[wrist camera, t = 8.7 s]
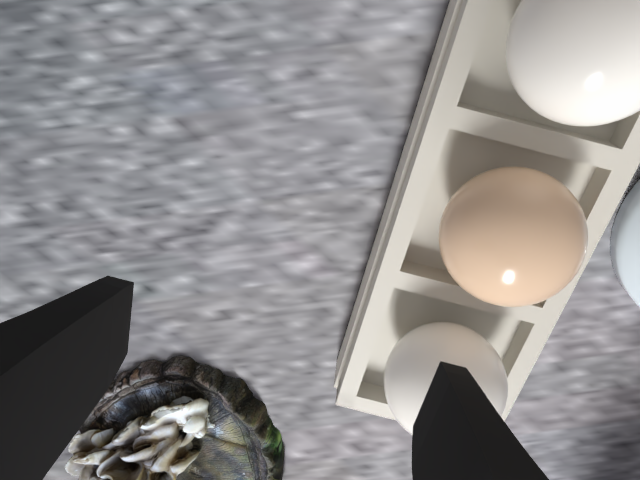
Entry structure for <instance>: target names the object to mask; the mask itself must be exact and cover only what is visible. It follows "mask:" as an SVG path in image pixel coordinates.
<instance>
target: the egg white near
mask: <svg viewBox="0 0 640 480" xmlns="http://www.w3.org/2000/svg"><path fill="white" fill-rule="evenodd" d="M506 65H507V69H508V74H509V77H510V79H511V82H512V84H513V86H514V88H515V90H516V92H517V93H518V94H519V96H520V97H521V98H522V100H523V101H524V102H525V103H526V104H527V105H528V106H529V107H530V108H531V109H532V110H534V111H535V112H537V113H538V114H540V115H541V116H543V117H545V118H547V119H549V120H552V121H555V122H558V123H561V124H565V125H570V126H598V125H603V124H608V123H612V122H615V121H618V120H621V119H624V118H626V117H628V116H631V115H633V114H635V113H636V112H638V111H640V0H522V1H521V2H520V4H519V6H518V7H517V9H516V11H515V13H514V16H513V18H512V20H511V23H510V26H509V30H508V34H507V40H506Z"/></svg>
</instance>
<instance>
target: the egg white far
mask: <svg viewBox="0 0 640 480" xmlns="http://www.w3.org/2000/svg"><path fill="white" fill-rule="evenodd" d="M440 361H442V362H446V363H450V364H454V365H458V366H462V367H466V368H467V369H468V371H469V372H470V373H471V375H472V376H473V377H474V379H475V380H476V382H477V383H478V385H479V386H480V388H481V389H482V390H483V392H484V393H485V395H486V396H487V398H488V399H489V401H490V402H491V403H492V405H493V406H494V408H495V409H496V411H497V412H498V414H499V415H500V416H502V414H503V411H504V409H505V406H506V402H507V397H508V380H507V375H506V371H505V367H504V365H503V362H502V360H501V358H500V356H499V354H498V353H497V351H496V350H495V349H494V347H493V346H492V345H491V344H490V343H489V342H488V341H487V340H486V339H485V338H484V337H483V336H482V335H480V334H479V333H477V332H476V331H474V330H472V329H470V328H468V327H466V326H464V325H460V324H457V323H452V322H433V323H428V324H424V325H421V326H418V327H416V328H414V329H412V330H411V331H409V332H408V333H406V334H405V335H404V336H403V337H402V338H401V339H400V340H399V341H398V342H397V343H396V344H395V346H394V347H393V349H392V351H391V352H390V354H389V356H388V359H387V362H386V365H385V369H384V379H383V382H384V392H385V397H386V400H387V403H388V406H389V408H390V410H391V412H392V414H393V415H394V417H395V419H396V420H397V421H398V422H399V424H400V425H401V426H402V427H403V428H404V429H405V430H406V431H407V432H409V433H410V434H411V435H413V425H414V422H415V420H416V418H417V415H418V413H419V410H420V408H421V406H422V403H423V401H424V399H425V396H426V394H427V392H428V389H429V387H430V384H431V382H432V380H433V377H434V375H435V373H436V370H437V368H438V366H439V363H440Z"/></svg>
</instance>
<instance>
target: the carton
mask: <svg viewBox="0 0 640 480" xmlns="http://www.w3.org/2000/svg"><path fill="white" fill-rule="evenodd" d="M521 1H522V0H450V2H449V5H448V8H447V11H446V15H445V18H444V21H443V24H442V27H441V31H440V34H439V37H438V40H437V43H436V46H435V50H434V53H433V56H432V59H431V62H430V66H429V69H428V72H427V75H426V78H425V82H424V85H423V88H422V91H421V94H420V97H419V101H418V104H417V107H416V110H415V113H414V117H413V120H412V123H411V126H410V129H409V133H408V136H407V139H406V142H405V145H404V148H403V152H402V155H401V158H400V161H399V164H398V168H397V171H396V174H395V177H394V180H393V184H392V187H391V190H390V193H389V196H388V199H387V203H386V206H385V209H384V212H383V215H382V219H381V222H380V225H379V228H378V231H377V235H376V238H375V241H374V244H373V247H372V251H371V254H370V257H369V260H368V263H367V266H366V270H365V273H364V276H363V279H362V282H361V286H360V289H359V292H358V295H357V298H356V302H355V305H354V308H353V311H352V314H351V317H350V321H349V324H348V327H347V330H346V333H345V337H344V340H343V343H342V346H341V349H340V353H339V356H338V359H337V363H336V372H335V381H334V388H337V395H336V404H335V405H338V406H342V407H346V408H350V409H354V410H358V411H362V412H366V413H370V414H374V415H378V416H381V417H385V418H389V419H393V420H396V419H395V417H394V415H393V414H392V412H391V410H390V408H389V406H388V403H387V400H386V397H385V392H384V382H383V379H384V369H385V365H386V362H387V359H388V356H389V354H390V352H391V351H392V349H393V347H394V346H395V344H396V343H397V342H398V341H399V340H400V339H401V338H402V337H403V336H404V335H405V334H406V333H408V332H409V331H411V330H412V329H414V328H416V327H418V326H421V325H424V324H428V323H433V322H452V323H457V324H460V325H464V326H466V327H468V328H470V329H472V330H474V331H476V332H477V333H479V334H480V335H482V336H483V337H484V338H485V339H486V340H487V341H488V342H489V343H490V344H491V345H492V346H493V347H494V349H495V350H496V351H497V353H498V354H499V356H500V358H501V360H502V362H503V365H504V367H505V371H506V375H507V380H508V397H507V402H506V406H505V409H504V411H503V414H502V416H501V418H502V419H503V421H505V420H506V418H507V416H508V414H509V412H510V410H511V408H512V406H513V404H514V402H515V400H516V399H517V397H518V395H519V393H520V391H521V389H522V387H523V385H524V383H525V381H526V379H527V378H528V376H529V374H530V372H531V370H532V368H533V366H534V364H535V362H536V360H537V358H538V357H539V355H540V353H541V351H542V349H543V347H544V345H545V343H546V341H547V339H548V337H549V336H550V334H551V332H552V330H553V328H554V326H555V324H556V322H557V320H558V318H559V316H560V315H561V313H562V311H563V309H564V307H565V305H566V303H567V301H568V299H569V297H570V295H571V294H572V292H573V290H574V288H575V286H576V284H577V282H578V280H579V278H580V276H581V274H582V273H583V271H584V269H585V267H586V265H587V263H588V261H589V259H590V257H591V255H592V253H593V252H594V250H595V248H596V246H597V244H598V242H599V240H600V238H601V236H602V234H603V232H604V231H605V229H606V227H607V225H608V223H609V221H610V219H611V217H612V215H613V213H614V212H615V210H616V208H617V206H618V204H619V202H620V200H621V198H622V196H623V194H624V192H625V191H626V189H627V187H628V185H629V183H630V181H631V179H632V177H633V175H634V173H635V171H636V170H637V168H638V166H639V164H640V111H638V112H636V113H635V114H633V115H631V116H628V117H626V118H624V119H621V120H618V121H615V122H612V123H608V124H603V125H598V126H570V125H565V124H561V123H558V122H555V121H552V120H549V119H547V118H545V117H543V116H541V115H540V114H538V113H537V112H535V111H534V110H532V109H531V108H530V107H529V106H528V105H527V104H526V103H525V102H524V101H523V100H522V98H521V97H520V96H519V94H518V93H517V92H516V90H515V88H514V86H513V84H512V82H511V79H510V77H509V74H508V69H507V65H506V40H507V34H508V30H509V26H510V23H511V20H512V18H513V16H514V13H515V11H516V9H517V7H518V6H519V4H520V2H521ZM511 166H517V167H526V168H532V169H535V170H538V171H541V172H544V173H546V174H548V175H550V176H552V177H554V178H555V179H557V180H558V181H560V182H561V183H562V184H564V185H565V186H566V187H567V188H568V189H569V190H570V191H571V193H572V194H573V195H574V196H575V198H576V199H577V200H578V202H579V204H580V206H581V207H582V210H583V212H584V215H585V218H586V222H587V227H588V246H587V251H586V255H585V258H584V261H583V263H582V266H581V268H580V269H579V271H578V273H577V274H576V276H575V277H574V278H573V280H572V281H571V282H570V283H569V284H568V285H567V286H566V287H565V288H564V289H563V290H561V291H560V292H559V293H557V294H556V295H554V296H553V297H551V298H549V299H547V300H545V301H542V302H539V303H537V304H533V305H528V306H522V307H503V306H498V305H494V304H490V303H487V302H484V301H482V300H480V299H477V298H476V297H474V296H472V295H471V294H469V293H468V292H466V291H465V290H464V289H463V288H461V287H460V286H459V285H458V283H457V282H456V281H455V280H454V279H453V278H452V276H451V275H450V274H449V272H448V270H447V268H446V266H445V264H444V262H443V260H442V257H441V253H440V247H439V226H440V221H441V217H442V214H443V212H444V209H445V207H446V205H447V204H448V202H449V200H450V199H451V197H452V196H453V195H454V194H455V192H456V191H457V190H458V189H459V188H460V187H461V186H462V185H463V184H465V183H466V182H467V181H468V180H470V179H471V178H473V177H475V176H476V175H479V174H481V173H483V172H485V171H488V170H492V169H496V168H501V167H511Z"/></svg>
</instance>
